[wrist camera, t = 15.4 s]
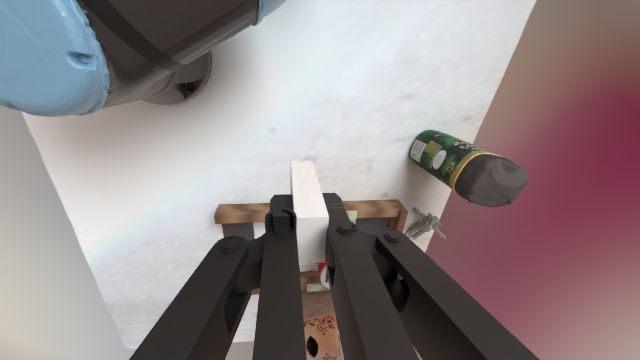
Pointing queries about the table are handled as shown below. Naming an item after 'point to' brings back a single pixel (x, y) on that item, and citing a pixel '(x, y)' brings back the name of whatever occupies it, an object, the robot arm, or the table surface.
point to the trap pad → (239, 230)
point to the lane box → (353, 209)
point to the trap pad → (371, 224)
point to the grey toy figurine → (425, 225)
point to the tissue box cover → (320, 326)
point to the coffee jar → (469, 169)
